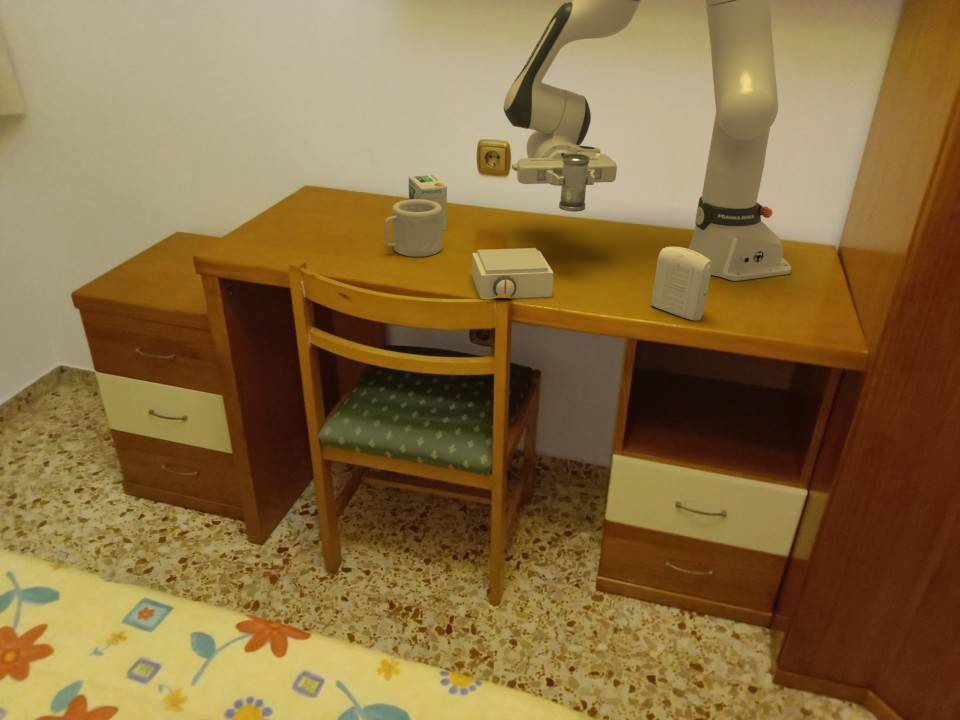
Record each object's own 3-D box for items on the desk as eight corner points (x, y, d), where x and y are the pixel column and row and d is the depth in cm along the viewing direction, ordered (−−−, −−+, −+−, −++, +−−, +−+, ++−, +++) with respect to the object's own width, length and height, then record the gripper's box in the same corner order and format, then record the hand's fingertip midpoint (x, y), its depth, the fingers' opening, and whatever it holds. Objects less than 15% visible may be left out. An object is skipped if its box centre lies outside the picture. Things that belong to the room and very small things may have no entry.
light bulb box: (408, 219, 185) (407, 176, 180) (434, 217, 188) (434, 174, 182) (420, 233, 177) (420, 188, 172) (447, 230, 179) (448, 186, 174)
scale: (538, 273, 157) (539, 246, 154) (553, 298, 145) (555, 270, 142) (471, 275, 154) (472, 249, 152) (481, 301, 143) (482, 273, 140)
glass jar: (581, 203, 152) (585, 153, 147) (588, 211, 148) (593, 160, 143) (556, 203, 151) (559, 154, 147) (562, 212, 147) (566, 160, 142)
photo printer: (706, 316, 140) (718, 254, 134) (695, 323, 137) (706, 260, 131) (658, 300, 146) (667, 239, 140) (646, 306, 143) (655, 245, 137)
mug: (425, 237, 174) (424, 195, 169) (451, 251, 167) (451, 207, 162) (373, 248, 167) (371, 205, 162) (398, 264, 159) (397, 218, 155)
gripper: (510, 148, 155) (524, 166, 143) (605, 147, 158) (626, 164, 146) (509, 179, 158) (522, 198, 146) (602, 177, 161) (623, 195, 149)
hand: (575, 181), depth 146 cm, fingers closed on glass jar, 5 cm apart
